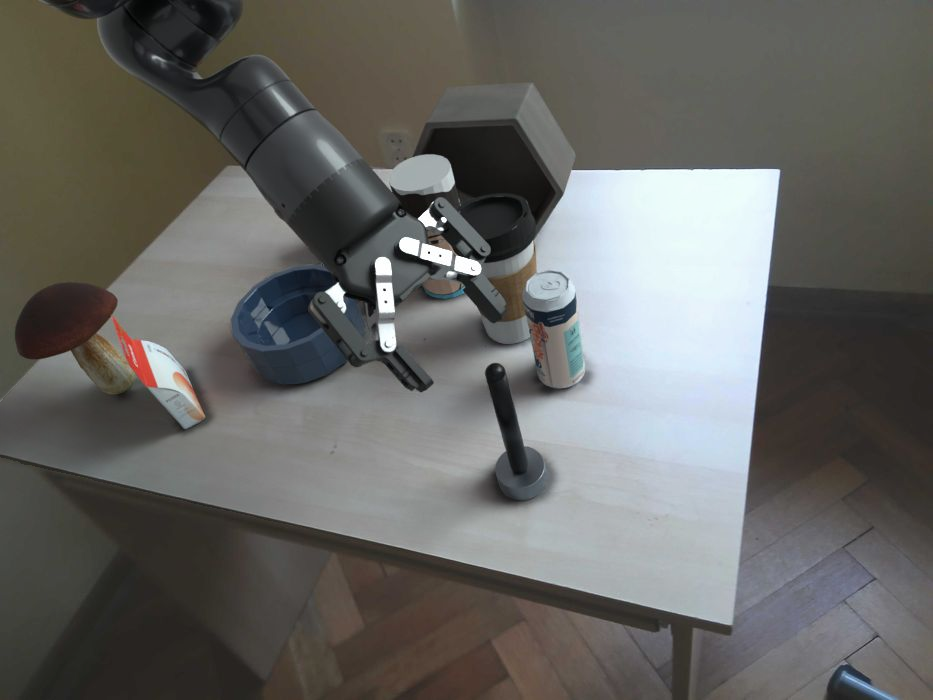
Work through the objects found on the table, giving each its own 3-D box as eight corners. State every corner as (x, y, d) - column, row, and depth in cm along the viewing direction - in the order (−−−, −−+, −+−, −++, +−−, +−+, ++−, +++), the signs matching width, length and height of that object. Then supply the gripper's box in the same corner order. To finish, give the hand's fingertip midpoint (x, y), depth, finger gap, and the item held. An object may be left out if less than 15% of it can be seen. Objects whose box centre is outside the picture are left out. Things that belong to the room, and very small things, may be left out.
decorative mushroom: (123, 349, 89) (46, 255, 78) (187, 360, 84) (113, 262, 74) (61, 416, 82) (-32, 324, 72) (126, 432, 78) (36, 336, 67)
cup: (414, 277, 87) (378, 172, 76) (462, 253, 88) (434, 147, 77) (437, 306, 82) (403, 199, 71) (487, 281, 83) (461, 172, 73)
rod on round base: (508, 507, 62) (475, 397, 51) (492, 469, 65) (457, 357, 54) (555, 489, 62) (531, 375, 51) (536, 452, 65) (511, 337, 55)
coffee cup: (538, 357, 73) (516, 244, 63) (463, 347, 77) (431, 237, 66) (560, 302, 78) (544, 188, 68) (489, 294, 82) (463, 184, 71)
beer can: (539, 356, 73) (523, 268, 65) (586, 354, 72) (575, 265, 64) (536, 392, 70) (518, 304, 62) (585, 391, 69) (573, 301, 61)
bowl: (259, 404, 77) (235, 367, 73) (249, 326, 86) (227, 290, 82) (377, 360, 78) (360, 321, 74) (354, 288, 87) (338, 250, 83)
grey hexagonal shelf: (388, 217, 88) (442, 80, 72) (408, 181, 93) (463, 45, 77) (509, 277, 90) (588, 157, 74) (523, 239, 95) (599, 118, 79)
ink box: (186, 371, 83) (135, 299, 75) (207, 419, 77) (153, 347, 69) (163, 383, 82) (109, 312, 74) (182, 433, 76) (125, 362, 68)
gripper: (254, 223, 47) (417, 406, 48) (404, 117, 53) (545, 283, 54) (244, 260, 53) (387, 419, 55) (378, 163, 59) (503, 309, 61)
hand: (465, 352), depth 55 cm, fingers open, 8 cm apart
